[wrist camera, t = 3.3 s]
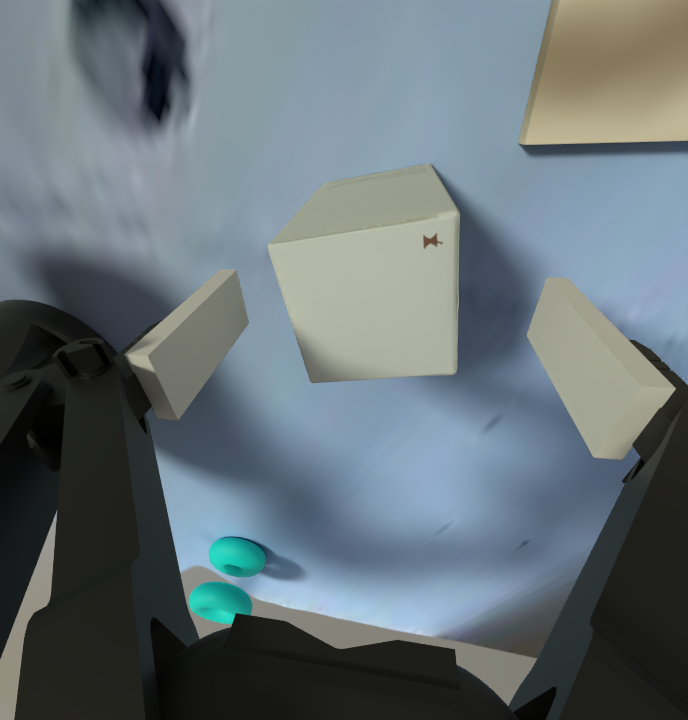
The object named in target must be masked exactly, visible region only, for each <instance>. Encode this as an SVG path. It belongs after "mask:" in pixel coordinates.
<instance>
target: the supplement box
mask: <svg viewBox="0 0 688 720" xmlns="http://www.w3.org/2000/svg"><path fill="white" fill-rule="evenodd" d="M459 233H460V212H459V210H458V208H457V207H456V205H455V203H454V202H453V200H452V199H451V197H450V195H449V194H448V192H447V190H446V189H445V187H444V185H443V184H442V182H441V180H440V179H439V177H438V175H437V174H436V172H435V170H434V168H433V167H432V165H431V164H430V163H429V164H423V165H418V166H413V167H407V168H402V169H396V170H391V171H385V172H380V173H374V174H369V175H363V176H358V177H353V178H347V179H342V180H337V181H331V182H327V183H324V184H322V185H321V187H320V188H319V189H318V190H317V191H316V192H315V193H314V195H313V196H312V197H311V198H310V199H309V200H308V201H307V202H306V203H305V205H304V206H303V207H302V208H301V209H300V210H299V211H298V212H297V213H296V214H295V216H294V217H293V218H292V219H291V220H290V221H289V222H288V224H287V225H286V226H285V227H284V228H283V229H282V230H281V231H280V232H279V234H278V235H277V236H276V237H275V238H274V239H273V240H272V241H271V243H270V244H269V245H268V250H269V254H270V257H271V260H272V263H273V266H274V269H275V273H276V276H277V279H278V282H279V286H280V289H281V292H282V295H283V298H284V301H285V304H286V308H287V311H288V314H289V317H290V320H291V323H292V326H293V329H294V333H295V336H296V339H297V342H298V345H299V348H300V351H301V354H302V357H303V360H304V363H305V366H306V370H307V373H308V376H309V379H310V382H312V383H319V382H337V381H352V380H368V379H383V378H396V377H418V376H439V375H454V374H456V372H457V358H458V308H459V289H458V286H459Z"/></svg>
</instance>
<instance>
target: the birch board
mask: <svg viewBox="0 0 688 720" xmlns="http://www.w3.org/2000/svg"><path fill="white" fill-rule="evenodd" d="M654 141H688V0H552V2H551V7H550V11H549V15H548V19H547V23H546V28H545V32H544V36H543V40H542V45H541V49H540V53H539V57H538V62H537V66H536V70H535V74H534V78H533V83H532V87H531V91H530V95H529V100H528V104H527V108H526V112H525V117H524V121H523V125H522V129H521V133H520V138H519V142H518V143H519V144H523V145H538V144H576V143H615V142H654Z"/></svg>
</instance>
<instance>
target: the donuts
mask: <svg viewBox="0 0 688 720" xmlns="http://www.w3.org/2000/svg"><path fill="white" fill-rule="evenodd" d="M209 559H210V561H211V563H212V565H213V566H214V567H215V568H216V569H218V570H219V571H221V572H223V573H225V574H228V575H231V576H235V577H250V576H254V575H256V574H258V573H259V572H260V571H261V570H262V569H263V568H264V566H265V563H266V556H265V553H264V551H263V550H262V549H261V548H260V547H259V546H257V545H256V544H254V543H252V542H250V541H247V540H244V539H240V538H234V537H227V538H221V539H219V540H217V541H215V542H214V543H213V544H212V546H211V547H210V549H209ZM189 606H190V608H191V610H192V611H193V612H194V613H196V614H197V615H199V616H201V617H203V618H205V619H208V620H211V621H215V622H218V623H224V624H232V623H233V620H234V617H235V614H236V613H239V614H245V615H250V614H251V612H252V601H251V599H250V597H249V595H248V594H247V593H246V592H245V591H243V590H242V589H240V588H239V587H236V586H234V585H231V584H228V583H223V582H207V583H204V584H201V585H199V586H198V587H196V588H195V589H194V590H193V591H192V593H191V595H190V597H189Z"/></svg>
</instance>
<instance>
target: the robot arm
mask: <svg viewBox="0 0 688 720" xmlns="http://www.w3.org/2000/svg"><path fill="white" fill-rule="evenodd" d="M248 323H249V321H248V317H247V313H246V308H245V304H244V300H243V295H242V291H241V287H240V283H239V278H238V274H237V270H220V271H218V272H217V273H216V274H215V275H214V276H213V277H212V278H210V279H209V280H208V281H207V282H206V283H205V284H204V285H202V286H201V287H200V288H199V289H198V290H197V291H196V292H195V293H193V294H192V295H191V296H190V297H189V298H188V299H187V300H185V301H184V302H183V303H182V304H181V305H180V306H179V307H177V308H176V309H175V310H174V311H173V312H172V313H171V314H169V315H168V316H167V317H166V318H165V319H164V320H161V321H159V322H157V323H156V324H154V325H152V326H150V327H149V328H148V329H147V330H145V331H144V332H143V333H142V335H140V336H138V337H137V338H136V339H135V340H134V342H131V343H130V344H129V345H128V346H127V347H126V348H124V349H123V350H122V351H121V352H120V353H119V354H117V355H116V353H115V352H114V351H113V350H112V349H111V347H110V346H109V345H108V344H107V343H106V342H105V341H104V340H103V339H102V338H100V337H99V336H98V335H97V334H96V333H95V332H93V331H92V330H91V329H89V328H88V327H87V326H85V325H84V324H82V323H81V322H79V321H78V320H76V319H74V318H73V317H71V316H69V315H67V314H65V313H63V312H61V311H59V310H57V309H54V308H52V307H49V306H46V305H43V304H40V303H36V302H32V301H26V300H7V301H2V302H0V658H1V656H2V653H3V651H4V648H5V645H6V643H7V640H8V637H9V635H10V632H11V630H12V627H13V624H14V622H15V619H16V616H17V614H18V611H19V609H20V606H21V603H22V601H23V598H24V595H25V593H26V590H27V587H28V585H29V582H30V580H31V577H32V574H33V572H34V569H35V566H36V564H37V561H38V559H39V556H40V553H41V550H42V548H43V545H44V543H45V540H46V538H47V535H48V532H49V529H50V527H51V524H52V522H53V519H54V516H55V514H56V511H57V521H56V536H55V548H54V562H53V575H52V589H51V597H50V601H49V603H48V605H47V606H46V607H44V608H42V609H40V610H38V611H36V612H35V613H34V614H33V615H32V617H31V619H30V620H29V622H28V624H27V629H26V633H25V637H24V644H23V653H22V661H21V669H20V678H19V686H18V694H17V703H16V711H15V719H14V720H688V385H687V384H686V383H685V382H684V381H683V380H682V379H681V378H680V377H679V376H678V375H677V374H675V373H674V372H673V371H670V368H669V367H668V366H667V365H666V364H665V363H664V362H661V359H660V358H659V357H658V356H657V355H656V354H655V353H654V352H653V351H652V350H651V349H649V348H647V347H645V346H644V345H642V344H640V343H638V342H637V341H635V340H628V339H627V338H626V337H625V336H624V335H623V334H622V333H621V332H620V331H619V330H618V329H617V328H616V327H615V326H614V325H613V324H612V323H611V322H610V321H609V320H608V319H607V318H606V317H605V316H604V315H603V314H602V313H601V312H600V311H599V310H598V309H597V308H596V307H595V306H594V305H593V304H592V303H591V302H590V301H589V300H588V298H587V297H586V296H585V295H584V294H583V293H582V292H581V291H580V290H579V289H578V288H577V287H576V286H575V285H574V284H573V283H572V282H571V281H570V280H569V279H568V278H546V281H545V284H544V287H543V290H542V293H541V295H540V298H539V301H538V304H537V307H536V310H535V313H534V315H533V318H532V321H531V324H530V327H529V330H528V333H527V335H526V336H527V338H528V339H529V341H530V343H531V345H532V347H533V348H534V350H535V352H536V354H537V356H538V358H539V359H540V361H541V363H542V365H543V367H544V369H545V370H546V372H547V374H548V376H549V378H550V379H551V381H552V383H553V385H554V387H555V389H556V390H557V392H558V394H559V396H560V398H561V399H562V401H563V403H564V405H565V407H566V409H567V410H568V412H569V414H570V416H571V418H572V419H573V421H574V423H575V425H576V427H577V429H578V430H579V432H580V434H581V436H582V438H583V439H584V441H585V443H586V445H587V447H588V449H589V450H590V452H591V454H592V456H593V458H605V459H616V460H623V458H624V457H625V456H626V454H627V453H628V452H629V450H630V449H631V448H632V446H633V447H634V448H635V450H636V451H637V453H638V454H639V455H640V457H641V458H640V459H639V460H638V462H637V463H636V464H635V465H634V467H633V468H632V469H631V470H630V472H629V473H628V474H627V475H626V477H625V478H624V479H623V480H622V482H623V483H625V485H624V487H623V489H622V491H621V493H620V495H619V497H618V499H617V501H616V503H615V505H614V507H613V509H612V511H611V513H610V515H609V517H608V519H607V521H606V523H605V525H604V527H603V529H602V531H601V533H600V535H599V537H598V539H597V541H596V543H595V545H594V547H593V549H592V551H591V553H590V555H589V557H588V559H587V561H586V563H585V565H584V567H583V569H582V571H581V573H580V575H579V577H578V579H577V581H576V583H575V585H574V587H573V589H572V591H571V593H570V595H569V597H568V599H567V601H566V603H565V605H564V607H563V609H562V611H561V613H560V615H559V617H558V619H557V621H556V623H555V625H554V627H553V629H552V631H551V633H550V635H549V637H548V639H547V641H546V643H545V645H544V647H543V649H542V651H541V653H540V655H539V657H538V659H537V660H536V662H535V664H534V666H533V668H532V669H531V671H530V673H529V674H528V675H527V677H526V678H525V679H524V681H523V682H522V684H521V685H520V687H519V688H518V690H517V692H516V693H515V695H514V697H513V699H512V700H511V702H510V704H509V706H507V704H506V703H505V702H504V701H503V700H502V699H501V698H500V697H499V696H498V695H497V694H496V693H495V692H494V691H493V690H492V689H491V688H489V687H488V686H487V685H486V684H485V683H484V682H482V681H481V680H480V679H479V678H477V677H476V676H474V675H473V674H471V673H470V672H468V671H467V670H466V669H463V668H462V667H460V666H458V665H456V655H455V649H450V648H443V647H438V646H431V645H425V644H419V643H413V642H407V641H401V640H394V641H388V642H382V643H376V644H371V645H364V646H358V647H352V648H347V649H337V648H334V647H332V646H330V645H329V644H327V643H325V642H323V641H321V640H319V639H318V638H315V637H314V636H312V635H310V634H308V633H306V632H305V631H303V630H301V629H299V628H297V627H295V626H294V625H292V624H290V623H288V622H286V621H280V620H274V619H269V618H262V617H257V616H251V615H245V614H239V613H236V614H235V617H234V620H233V623H232V626H231V628H226V629H223V630H220V631H217V632H214V633H212V634H210V635H207V636H205V637H203V638H202V639H199V636H198V633H197V630H196V627H195V625H194V623H193V620H192V618H191V616H190V614H189V611H188V608H187V604H186V599H185V595H184V590H183V585H182V580H181V575H180V570H179V566H178V561H177V556H176V551H175V546H174V542H173V537H172V532H171V527H170V523H169V518H168V513H167V508H166V503H165V499H164V494H163V489H162V484H161V479H160V475H159V470H158V465H157V460H156V455H155V451H154V446H153V441H152V436H151V431H150V427H149V422H148V420H147V418H146V417H145V414H146V412H147V411H148V410H149V409H150V408H151V407H152V409H153V411H154V412H155V414H156V416H157V418H158V419H164V420H176V421H179V419H180V418H181V416H182V415H183V414H184V412H185V411H186V409H187V408H188V407H189V405H190V404H191V403H192V401H193V400H194V398H195V397H196V396H197V394H198V393H199V391H200V390H201V389H202V387H203V386H204V384H205V383H206V382H207V380H208V379H209V378H210V376H211V375H212V373H213V372H214V371H215V369H216V368H217V366H218V365H219V364H220V362H221V361H222V359H223V358H224V357H225V355H226V354H227V353H228V351H229V350H230V348H231V347H232V346H233V344H234V343H235V341H236V340H237V339H238V337H239V336H240V335H241V333H242V332H243V330H244V329H245V328H246V326H247V325H248Z"/></svg>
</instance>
